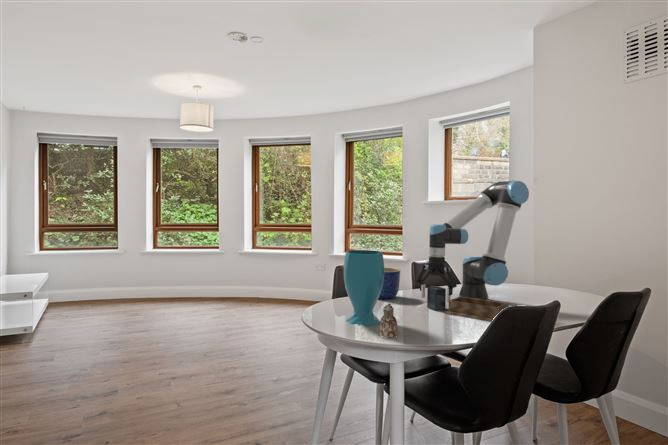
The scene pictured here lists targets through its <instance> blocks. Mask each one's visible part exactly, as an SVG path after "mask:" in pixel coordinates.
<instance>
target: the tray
mask: <svg viewBox="0 0 668 445" xmlns="http://www.w3.org/2000/svg"><path fill="white" fill-rule="evenodd" d="M506 307H508V308H509V303H508V302H500V301H494V300H489V299H488V300H482V299H475V298H468V297H461V296H460V297H459V296H457V297H454V298H452V299H451V300H449V302H448V310H444V314H446V315H451V316H456V317H457V316H458V317H463V318H469V319H472V320H473V319H474V320H480V321H486V322H491V321H492V320H493V318H494V317H495V316H496V315H497V314H498V313H499V312H500V311H501V310H502V309H504V308H506Z"/></svg>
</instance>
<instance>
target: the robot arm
mask: <svg viewBox="0 0 668 445" xmlns="http://www.w3.org/2000/svg"><path fill="white" fill-rule="evenodd" d="M529 195H530V189H529V188H528V186H527V185H526V183H525V182H523V181H521V180H515V179H514V180H505V181H503V180H502V181H497V182H494V183H492V184H491V185H490V186H487V187H486V188H485V189H484V190H482V191H481V192H480V193H478V195H477V198H475V199H474V200H473V201H471V202H470V203H469V204H467V205H466V206H465V207H464V208H462V209H461V210H459V211H458V212H457V213H456V214H454V215H453V216H452V217H451V218H450V219H448V220H446V221H445V222H444V223H443V224H442V223H441V224H438V223H437V224H436V223H434V224H433V223H432V224H431V225H430V226H429V232H428V233H429V249H428V254H429V256H428V264H423V265H422V269H421V271H420V273H419V276H418V277H417V279H416V281H415V282H416V283H417V284H419V291H420V298H421V299H424V298H426V284H425V283H426V282H427V281H428V280H429V279H430V277H431V276H437V277H438V276H439V277H441V279H442V281H443V282H444V283H445V284H446V287H447V288H446V303H449V300H451V298H452V297H451V296H452V295H453V291H454V290H453V289H454V288H457V287H458V285H457V283H456V281H455V277H454V276H453V273H452V269H451V267H450V266H448V267H446V266H445V264H446V262H445V261H446V258H445V256H446V245H449V244H450V245H463V244H466V243H467V242H468V240H469V232H468V230H467V229H465V228H464V227H465V226H466V225H468V224H469V223H470V222H472V221H473V220H474V219H475V218H477V217H478V216H479V215H480V214H482V213H483V212H484V211H486V210H487V209H491V208H492V207H495V206H497V207H498V208H497V212H496V215H495V216H496V217H495V221H494V224H493V228H492V230H491V231H492V232H491V235H490V239H489V243H488V247H487V251H486V253H484V254H482V255H481V256H468V257H467V256H466V257H463V259H462V285H461V288H460V291H459V293H458V297H460V296H461V297H468V298H475V299H482V300H489V294H488V291H487V287H486V285H490V286H500V285H502V284H503V283H505V281H506V280H507V278H508V276H509V270H508V266H507V265H506V264H507V260H506V258H505V255H506V252H507V247H508V243H509V240H510V236H511V232H512V228H513V224H514V221H515V218H516V214H517V212H518V211H520V210H521V207H522V205H523V204H525V203H526V202H527V201H528V200H529V197H530V196H529ZM427 270H429V271H428V272H427ZM426 272H427V273H426ZM446 275H447V276H446Z"/></svg>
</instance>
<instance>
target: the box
mask: <svg viewBox="0 0 668 445" xmlns="http://www.w3.org/2000/svg"><path fill="white" fill-rule="evenodd" d="M426 288H427V290H426V291H427V293H426V294H427V295H426V296H427V297H426V298H427V299H426V300H427V301H426V303H427V304H426V307H427V308H428V309H431V310H433V311H436V312H438V311H446V305H447V304H446V303H447V288H445V287H442V286H438V285H430V286H427V287H426Z"/></svg>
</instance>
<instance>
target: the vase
mask: <svg viewBox="0 0 668 445" xmlns="http://www.w3.org/2000/svg"><path fill="white" fill-rule="evenodd" d="M344 254H345V255H344V263H343V281H344V286H345V291H346V294H347V296H348V298H349V301H350V304H351V305H352V308H353V312H352V315H351V317H349V318H348V319H346V320H347V321H348V322H349V323H350V325H354V324H358V325H357V326H360V325H365V326H375V324H376V325H378V324H380V323H379V322H380V321H381V320H380V319H379V318H378V317H377V316H376V315H375V313H374V308H375V306H376V304H377V302H378V300H379V299H380V298H379V296H380V293H381V290H382V286H383V281H384V267H385V262H384V261H385V260H384V255H383V252H381V251H379V250H366V249H365V250H363V249H361V250H359V249H358V250H349V251H345V253H344ZM347 321H346V322H347ZM348 322H347V323H348ZM349 323H348V324H349ZM377 323H378V324H377Z"/></svg>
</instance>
